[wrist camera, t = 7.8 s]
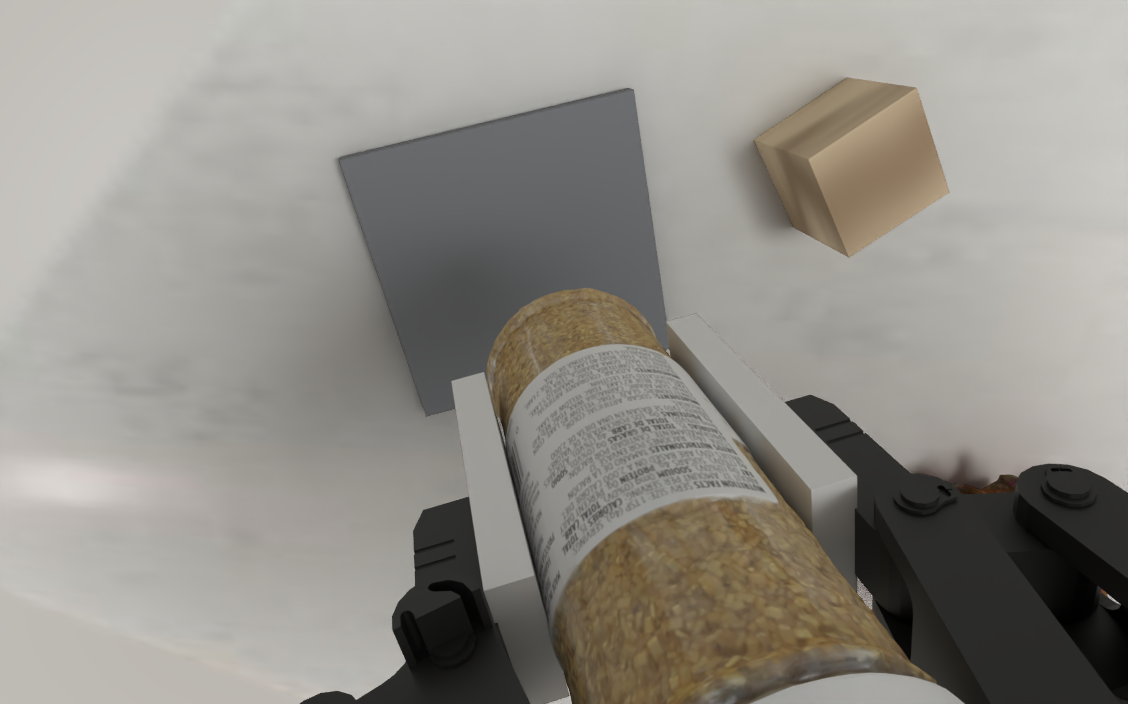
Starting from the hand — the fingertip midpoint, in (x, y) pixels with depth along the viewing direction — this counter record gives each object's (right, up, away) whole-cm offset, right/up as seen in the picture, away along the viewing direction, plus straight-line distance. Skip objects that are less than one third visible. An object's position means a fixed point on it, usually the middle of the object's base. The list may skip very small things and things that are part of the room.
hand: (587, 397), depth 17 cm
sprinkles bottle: (0, +1, +2) cm, 2 cm away
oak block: (+9, +9, +10) cm, 16 cm away
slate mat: (-2, +4, +10) cm, 11 cm away
